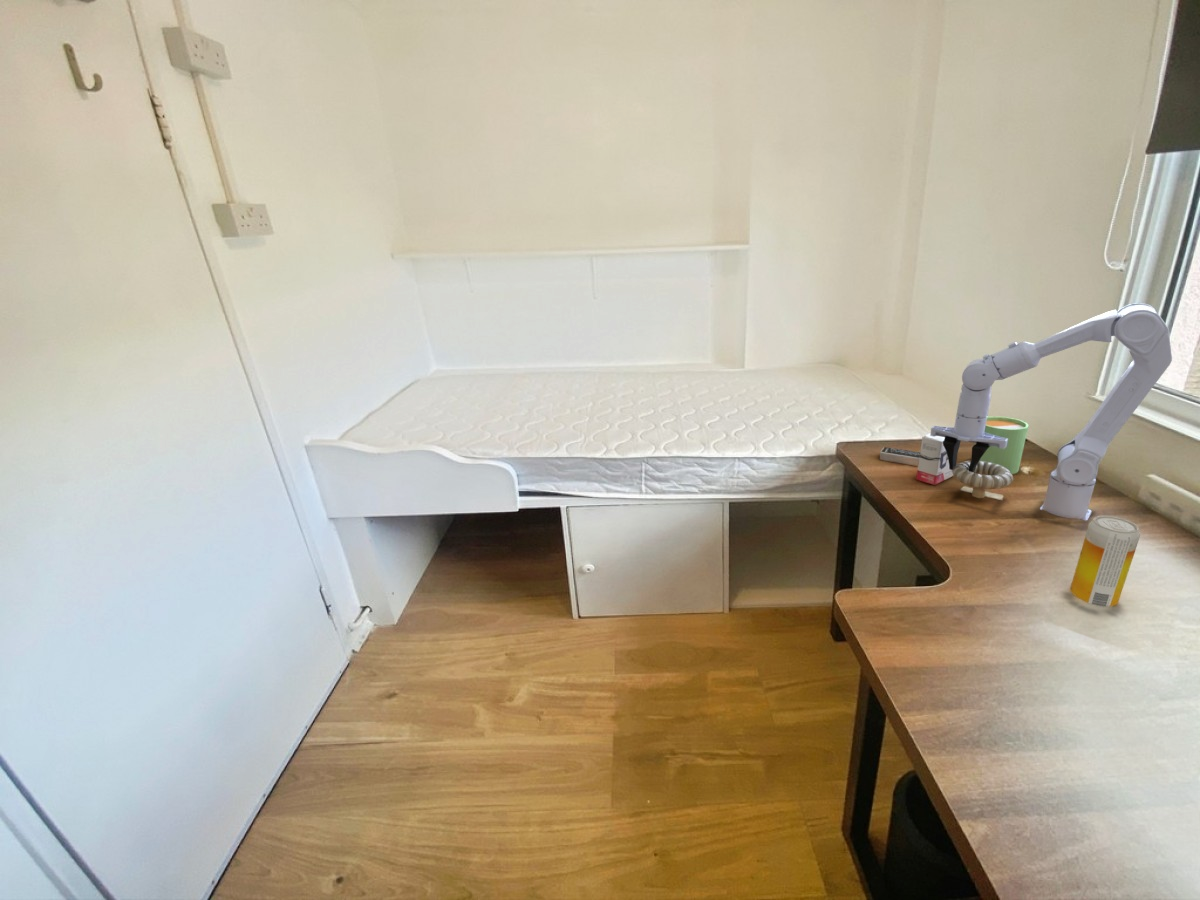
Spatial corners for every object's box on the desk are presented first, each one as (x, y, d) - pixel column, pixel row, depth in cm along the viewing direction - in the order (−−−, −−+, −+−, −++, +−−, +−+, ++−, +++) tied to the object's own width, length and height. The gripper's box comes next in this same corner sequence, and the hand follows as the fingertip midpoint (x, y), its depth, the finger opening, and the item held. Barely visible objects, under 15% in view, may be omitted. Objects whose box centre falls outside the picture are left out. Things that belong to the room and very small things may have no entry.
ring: (960, 466, 132) (962, 455, 131) (1017, 478, 124) (1019, 466, 123) (944, 482, 125) (946, 470, 124) (1003, 496, 117) (1006, 483, 116)
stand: (962, 490, 132) (966, 468, 129) (1002, 499, 126) (1007, 477, 124) (951, 502, 127) (955, 480, 125) (992, 512, 121) (997, 489, 119)
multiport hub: (924, 467, 145) (925, 459, 144) (879, 459, 151) (880, 451, 150) (927, 461, 148) (928, 453, 147) (883, 454, 154) (883, 446, 154)
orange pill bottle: (1105, 593, 94) (1130, 516, 88) (1123, 616, 89) (1150, 535, 83) (1062, 588, 96) (1083, 512, 90) (1077, 610, 91) (1101, 531, 85)
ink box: (935, 485, 135) (942, 441, 130) (914, 479, 139) (921, 435, 134) (953, 476, 139) (961, 432, 134) (933, 470, 143) (940, 427, 138)
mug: (1029, 473, 137) (1040, 428, 133) (986, 476, 138) (995, 430, 133) (996, 454, 149) (1005, 412, 144) (957, 456, 149) (964, 414, 145)
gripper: (929, 413, 124) (920, 468, 129) (1006, 425, 114) (993, 484, 119) (940, 405, 129) (931, 458, 134) (1015, 416, 119) (1002, 474, 124)
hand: (961, 470), depth 127 cm, fingers closed on ring, 3 cm apart
